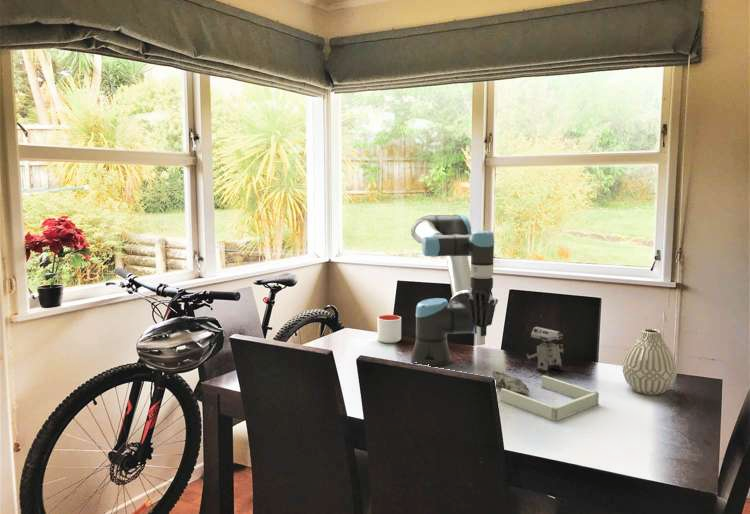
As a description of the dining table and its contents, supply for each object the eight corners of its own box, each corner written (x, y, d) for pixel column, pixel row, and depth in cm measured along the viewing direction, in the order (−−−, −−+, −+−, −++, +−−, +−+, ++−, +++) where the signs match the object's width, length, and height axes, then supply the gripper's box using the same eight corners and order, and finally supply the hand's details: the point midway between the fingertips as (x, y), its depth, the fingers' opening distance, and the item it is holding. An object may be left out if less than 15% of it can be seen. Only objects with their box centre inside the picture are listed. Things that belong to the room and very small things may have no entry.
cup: (375, 343, 252) (375, 319, 250) (379, 337, 262) (379, 314, 260) (399, 344, 250) (399, 320, 249) (402, 338, 260) (402, 315, 259)
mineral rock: (532, 395, 192) (533, 382, 191) (510, 398, 190) (510, 384, 189) (510, 380, 206) (510, 368, 205) (489, 382, 204) (489, 370, 203)
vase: (613, 391, 195) (616, 331, 193) (631, 378, 207) (635, 322, 204) (665, 403, 184) (669, 340, 182) (681, 390, 196) (685, 330, 193)
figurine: (539, 363, 225) (540, 323, 223) (565, 371, 215) (567, 330, 213) (523, 367, 219) (524, 327, 217) (549, 376, 210) (550, 334, 208)
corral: (500, 400, 188) (500, 388, 187) (543, 385, 200) (543, 375, 200) (554, 421, 171) (555, 409, 171) (598, 404, 184) (598, 392, 184)
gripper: (460, 275, 207) (459, 342, 210) (488, 280, 197) (487, 350, 200) (475, 273, 212) (474, 338, 214) (504, 278, 201) (502, 346, 204)
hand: (480, 344), depth 207 cm, fingers closed
